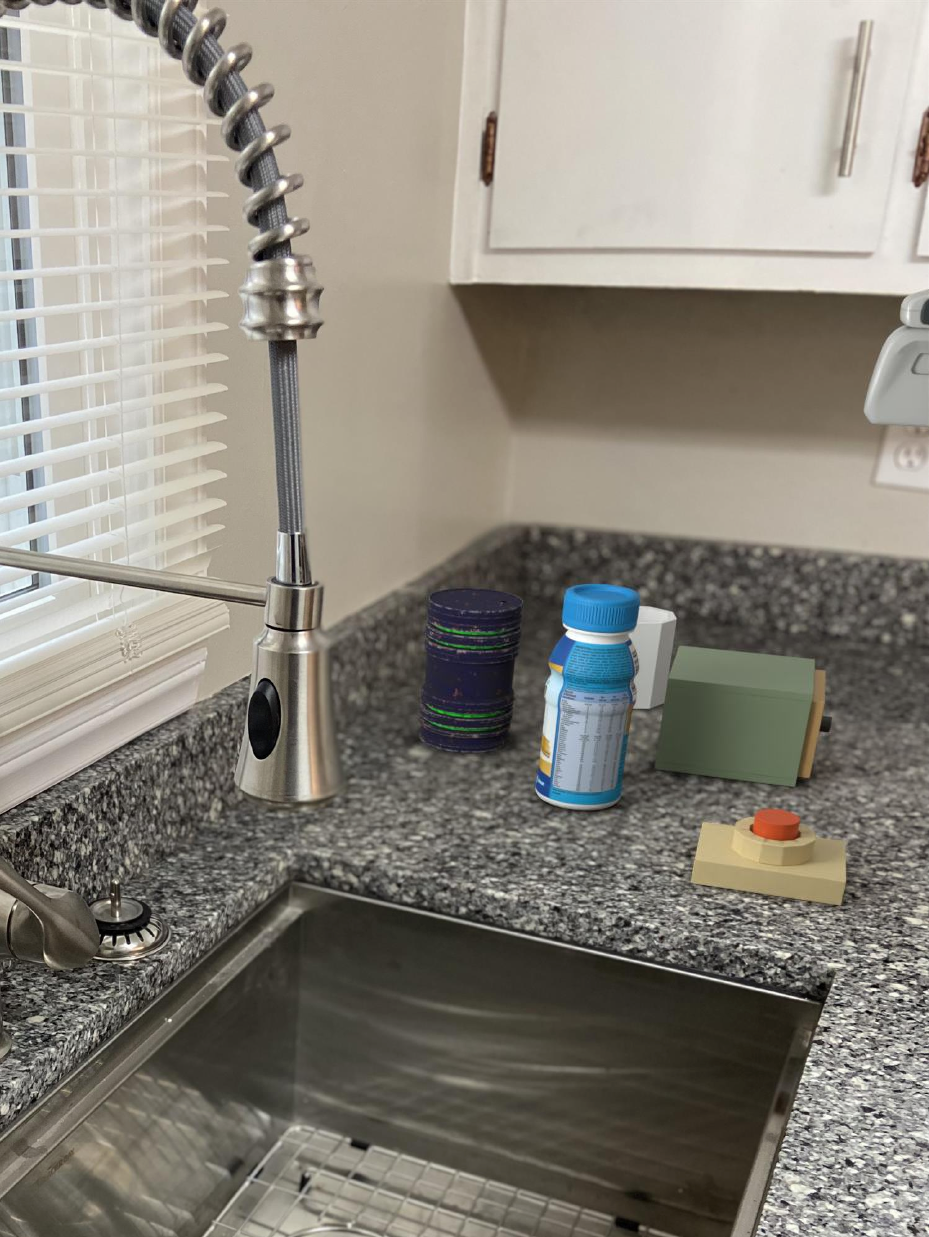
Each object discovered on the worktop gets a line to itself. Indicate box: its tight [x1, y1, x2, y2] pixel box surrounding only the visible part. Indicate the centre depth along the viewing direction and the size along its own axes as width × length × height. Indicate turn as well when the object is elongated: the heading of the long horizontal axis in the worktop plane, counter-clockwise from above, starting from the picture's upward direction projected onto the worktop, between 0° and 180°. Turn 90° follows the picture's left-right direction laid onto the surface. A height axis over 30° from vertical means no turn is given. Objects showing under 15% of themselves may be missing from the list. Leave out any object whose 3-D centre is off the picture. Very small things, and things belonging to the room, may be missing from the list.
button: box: [752, 808, 801, 841], centre depth 123 cm, size 4×4×2 cm
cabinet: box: [653, 645, 816, 788], centre depth 149 cm, size 14×13×10 cm
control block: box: [690, 816, 847, 906], centre depth 124 cm, size 12×9×4 cm
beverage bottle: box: [534, 583, 641, 811], centre depth 136 cm, size 8×8×20 cm
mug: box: [628, 605, 678, 710], centre depth 167 cm, size 12×9×10 cm
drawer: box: [797, 669, 833, 779], centre depth 148 cm, size 14×11×8 cm
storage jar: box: [418, 587, 524, 754], centre depth 153 cm, size 10×10×15 cm
